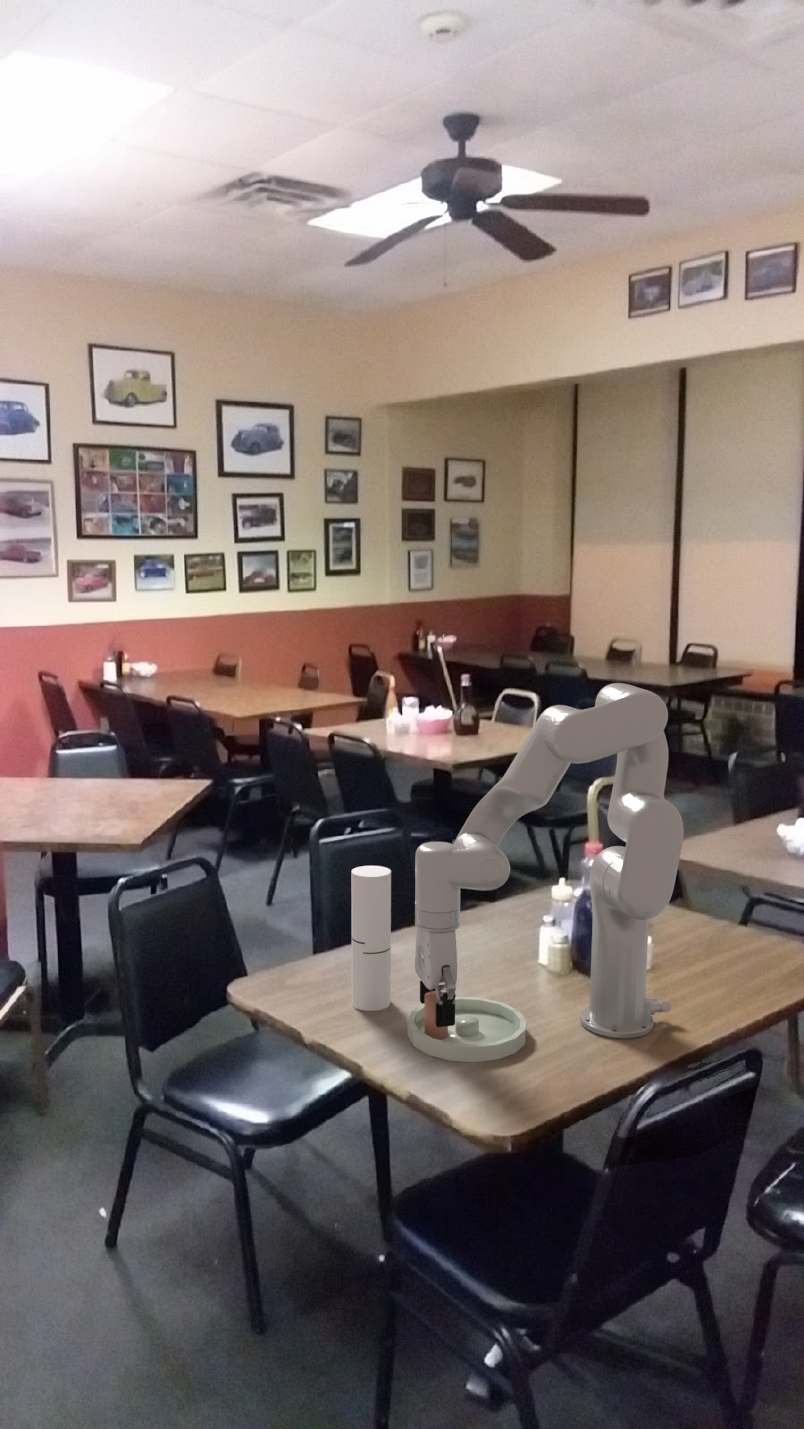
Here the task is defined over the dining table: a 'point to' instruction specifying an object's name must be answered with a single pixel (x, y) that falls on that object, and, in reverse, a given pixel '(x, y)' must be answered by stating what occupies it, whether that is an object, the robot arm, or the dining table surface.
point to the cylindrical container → (371, 937)
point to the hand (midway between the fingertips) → (437, 1013)
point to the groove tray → (472, 1031)
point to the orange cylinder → (433, 1018)
